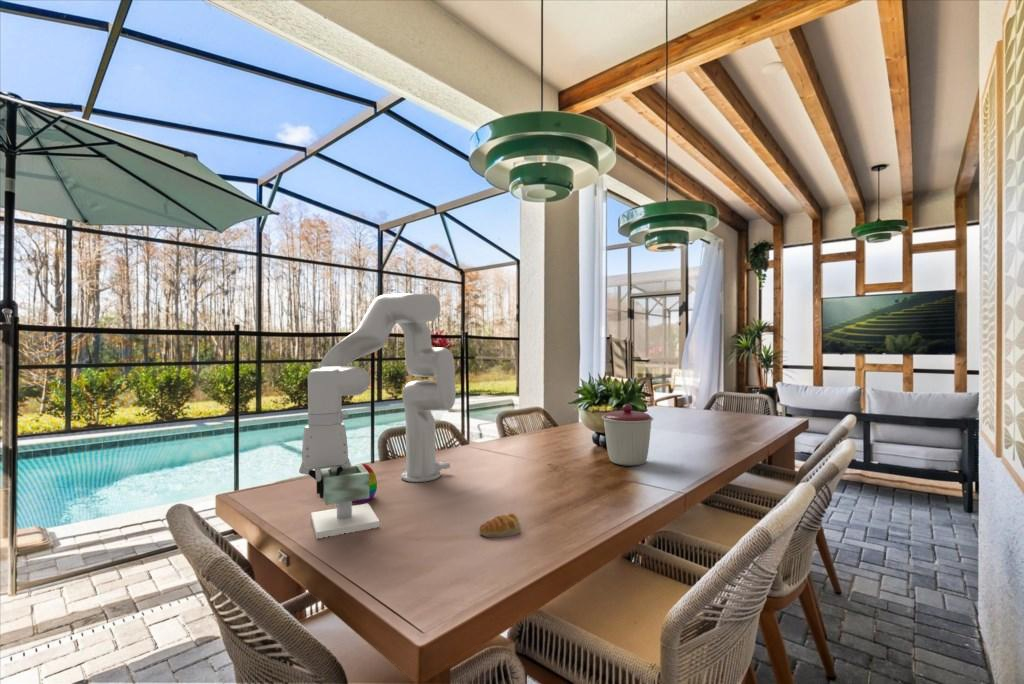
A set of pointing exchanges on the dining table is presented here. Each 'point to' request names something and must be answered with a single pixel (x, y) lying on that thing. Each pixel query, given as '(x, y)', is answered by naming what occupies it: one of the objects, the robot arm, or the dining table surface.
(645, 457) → the canister
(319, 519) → the post board
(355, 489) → the collar
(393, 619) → the dining table surface
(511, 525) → the pastry
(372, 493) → the decorative egg
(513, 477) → the dining table surface
